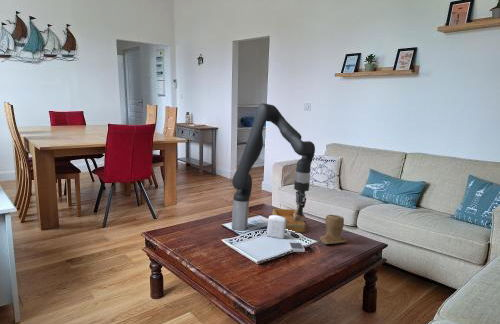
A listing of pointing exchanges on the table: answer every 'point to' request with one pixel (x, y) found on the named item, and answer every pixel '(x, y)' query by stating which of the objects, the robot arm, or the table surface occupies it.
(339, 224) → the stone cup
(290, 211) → the tray
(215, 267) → the table surface
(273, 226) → the photo printer
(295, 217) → the hand stamp
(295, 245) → the ink pad
